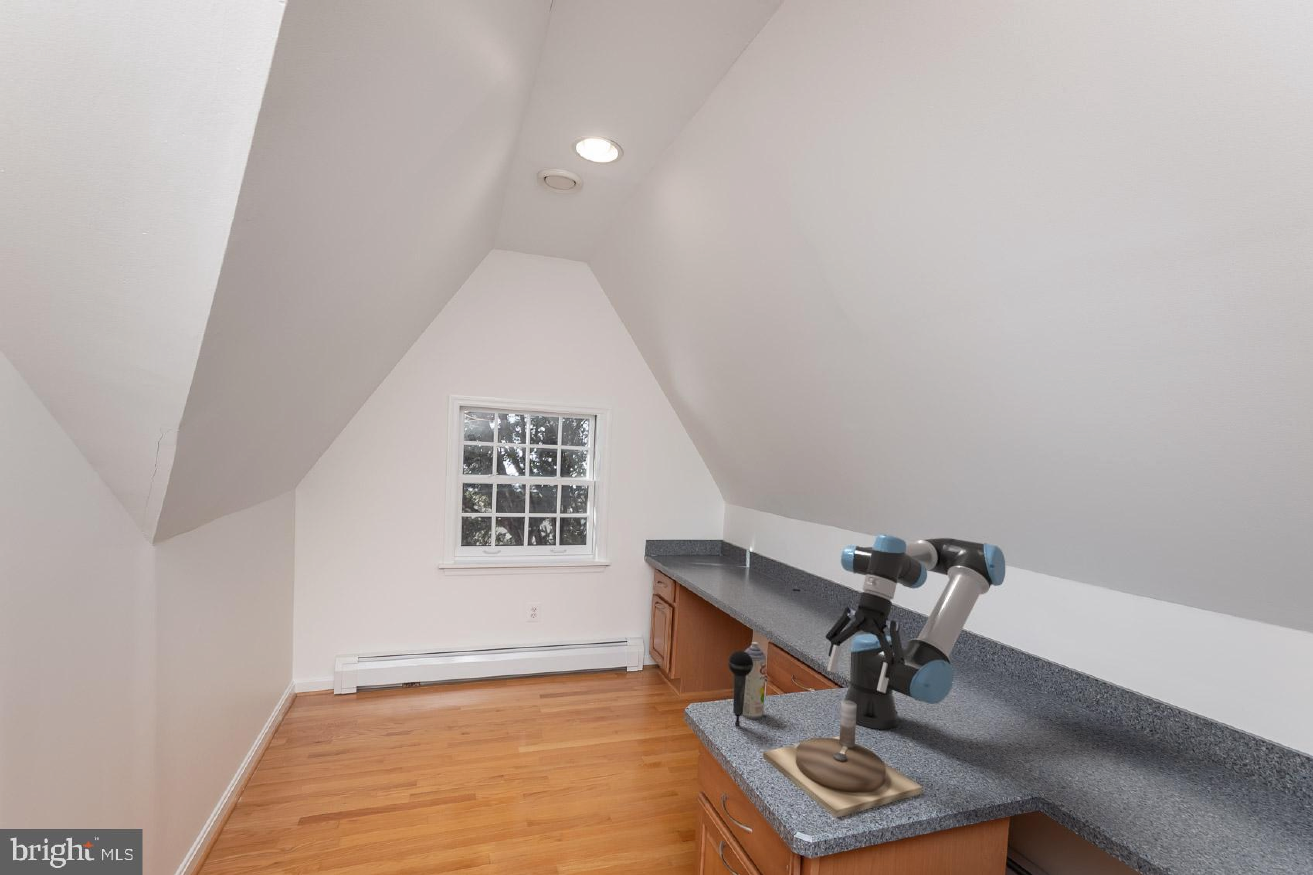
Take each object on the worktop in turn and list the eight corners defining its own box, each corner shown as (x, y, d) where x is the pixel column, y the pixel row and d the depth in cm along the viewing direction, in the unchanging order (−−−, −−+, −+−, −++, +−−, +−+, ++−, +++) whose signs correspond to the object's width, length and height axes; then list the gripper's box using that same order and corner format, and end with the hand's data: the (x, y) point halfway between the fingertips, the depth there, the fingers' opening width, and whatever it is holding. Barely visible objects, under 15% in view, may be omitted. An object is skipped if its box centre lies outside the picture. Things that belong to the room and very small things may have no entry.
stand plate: (841, 741, 155) (841, 733, 155) (921, 793, 132) (922, 784, 132) (763, 757, 144) (763, 749, 144) (835, 817, 121) (836, 808, 121)
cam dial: (877, 802, 125) (880, 745, 125) (784, 772, 134) (787, 719, 135) (891, 761, 142) (893, 711, 142) (808, 737, 152) (810, 690, 152)
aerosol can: (761, 720, 164) (765, 648, 164) (737, 716, 166) (741, 644, 166) (764, 710, 171) (768, 641, 171) (740, 706, 173) (744, 637, 173)
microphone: (730, 732, 156) (734, 656, 157) (720, 720, 163) (724, 647, 163) (754, 730, 158) (758, 655, 158) (743, 719, 165) (747, 646, 165)
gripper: (826, 580, 156) (804, 661, 151) (918, 604, 137) (896, 698, 132) (841, 588, 160) (820, 666, 155) (932, 612, 141) (911, 703, 136)
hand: (855, 681), depth 143 cm, fingers open, 13 cm apart
